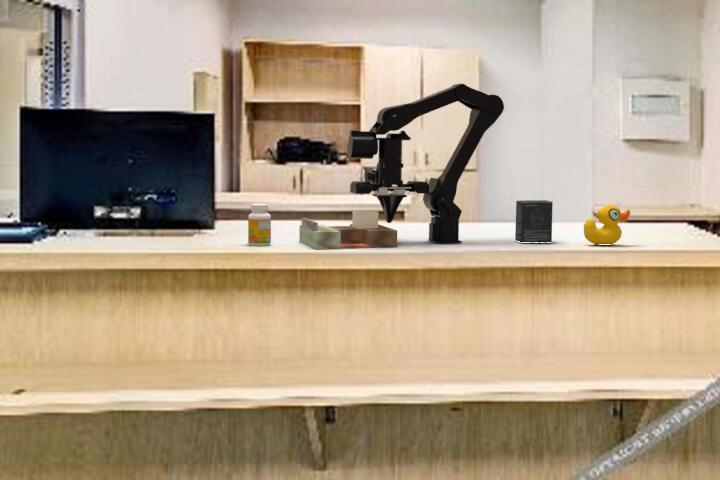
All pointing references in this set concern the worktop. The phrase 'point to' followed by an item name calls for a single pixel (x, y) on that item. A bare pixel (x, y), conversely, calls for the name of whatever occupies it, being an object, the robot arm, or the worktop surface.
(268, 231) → the supplement bottle
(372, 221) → the cream block
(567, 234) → the worktop surface
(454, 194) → the robot arm
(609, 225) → the duckling
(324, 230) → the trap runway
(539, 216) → the box
